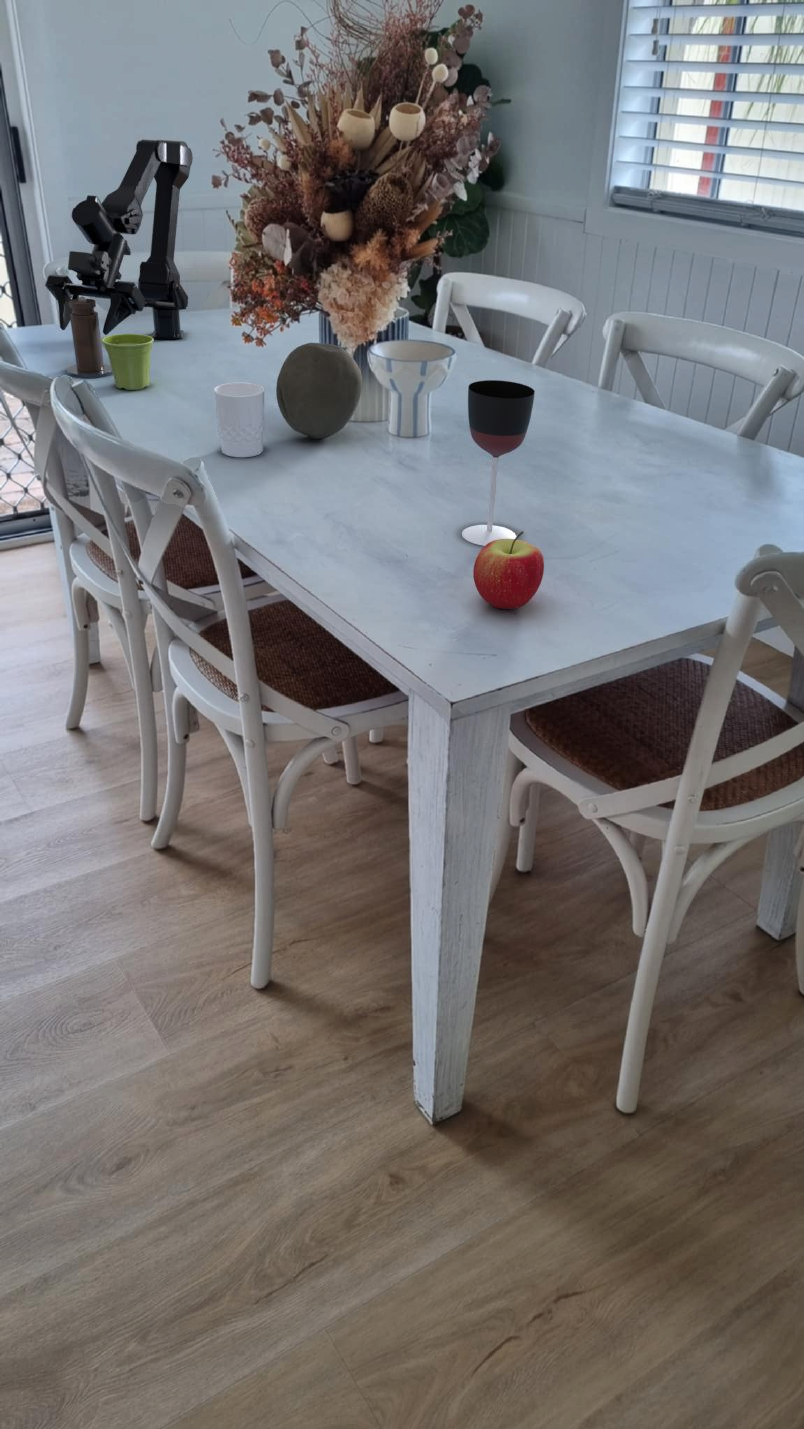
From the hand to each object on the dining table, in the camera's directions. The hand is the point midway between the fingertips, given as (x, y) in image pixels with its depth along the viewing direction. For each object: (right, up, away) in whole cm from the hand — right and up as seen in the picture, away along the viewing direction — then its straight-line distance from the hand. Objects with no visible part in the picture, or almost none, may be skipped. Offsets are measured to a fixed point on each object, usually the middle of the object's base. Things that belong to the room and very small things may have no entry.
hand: (83, 331), depth 204 cm
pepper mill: (0, -6, +5) cm, 7 cm away
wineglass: (+73, -49, -58) cm, 106 cm away
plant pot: (+10, -11, -2) cm, 15 cm away
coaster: (0, -6, +5) cm, 8 cm away
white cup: (+35, -31, -32) cm, 57 cm away
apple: (+74, -60, -75) cm, 122 cm away
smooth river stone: (+47, -26, -23) cm, 59 cm away
